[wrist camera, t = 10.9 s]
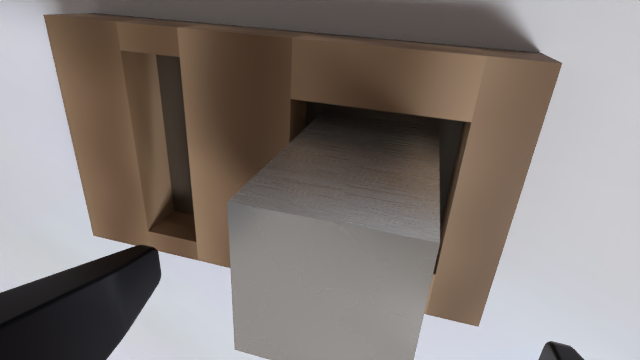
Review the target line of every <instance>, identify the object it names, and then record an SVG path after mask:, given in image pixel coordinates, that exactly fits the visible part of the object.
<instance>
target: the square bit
mask: <svg viewBox="0 0 640 360" xmlns="http://www.w3.org/2000/svg"><path fill="white" fill-rule="evenodd" d="M227 208H228V227H229V247H230V266H231V285H232V305H233V324H234V344H235V350H238V351H242V352H245V353H249V354H252V355H256V356H259V357H263V358H266V359H270V360H414V355H415V351H416V347H417V342H418V338H419V333H420V329H421V325H422V320H423V316H424V311H425V307H426V303H427V298H428V294H429V289H430V285H431V281H432V276H433V272H434V267H435V263H436V259H437V254H438V250H439V245H440V174H439V127H438V126H430V125H422V124H415V123H407V122H399V121H392V120H384V119H376V118H369V117H361V116H353V115H346V114H338V113H330V112H322V113H321V114H320V115H319V116H318V117H316V118H315V119H314V120H313V121H312V122H311V123H310V124H309V125H308V126H307V127H306V128H305V129H304V130H303V131H302V132H301V133H299V134H298V135H297V136H296V137H295V138H294V139H293V140H292V141H291V142H290V143H289V144H288V145H287V146H286V147H285V148H284V149H283V150H281V151H280V152H279V153H278V154H277V155H276V156H275V157H274V158H273V159H272V160H271V161H270V162H269V163H268V164H267V165H266V166H265V167H263V168H262V169H261V170H260V171H259V172H258V173H257V174H256V175H255V176H254V177H253V178H252V179H251V180H250V181H249V182H248V183H246V184H245V185H244V186H243V187H242V188H241V189H240V190H239V191H238V192H237V193H236V194H235V195H234V196H233V197H232V198H231V199H230V200H228V201H227Z"/></svg>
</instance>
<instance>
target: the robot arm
mask: <svg viewBox="0 0 640 360" xmlns="http://www.w3.org/2000/svg"><path fill="white" fill-rule="evenodd" d="M160 278H161V268H160V261H159V255H158V251H157V249H156V248H154V247H151V246H147V245H137V246H134V247H131V248H128V249H126V250H123V251H120V252H117V253H114V254H111V255H108V256H105V257H102V258H100V259H97V260H94V261H91V262H88V263H85V264H82V265H79V266H76V267H74V268H71V269H68V270H65V271H62V272H59V273H56V274H53V275H50V276H48V277H45V278H42V279H39V280H36V281H33V282H30V283H27V284H24V285H22V286H19V287H16V288H13V289H10V290H7V291H4V292H1V293H0V360H106V359H107V358H108V357H109V356H110V354H111V353H112V352H113V350H114V349H115V348H116V347H117V345H118V344H119V343H120V341H121V340H122V339H123V337H124V336H125V335H126V333H127V332H128V330H129V329H130V327H131V326H132V324H133V323H134V321H135V320H136V318H137V316H138V315H139V313H140V312H141V310H142V309H143V307H144V305H145V304H146V302H147V301H148V299H149V298H150V296H151V295H152V293H153V291H154V290H155V288H156V287H157V285H158V284H159V281H160ZM539 360H584V359H583V358H582V357H581V356H580V355H579V354H578V353H577V352H576V350H575V349H573V348H572V347H571V346H568V345H565V344H561V343H557V342H552V341H550V342H547V343H546V344H545V346H544V348H543V350H542V353H541V355H540V357H539Z"/></svg>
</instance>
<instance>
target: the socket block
mask: <svg viewBox="0 0 640 360" xmlns="http://www.w3.org/2000/svg"><path fill="white" fill-rule="evenodd" d="M44 19H45V23H46V28H47V32H48V36H49V41H50V45H51V50H52V54H53V59H54V63H55V67H56V72H57V76H58V81H59V85H60V90H61V94H62V98H63V103H64V107H65V112H66V116H67V120H68V125H69V129H70V134H71V138H72V143H73V147H74V151H75V156H76V160H77V165H78V169H79V174H80V178H81V182H82V187H83V191H84V196H85V200H86V205H87V209H88V213H89V218H90V222H91V227H92V231H93V236H98V237H102V238H106V239H110V240H114V241H119V242H123V243H127V244H131V245H136V246H137V245H147V246H151V247H154V248H156V249H157V251H161V252H165V253H169V254H174V255H178V256H182V257H186V258H191V259H195V260H199V261H203V262H207V263H212V264H216V265H220V266H224V267H229V268H231V266H230V247H229V227H228V208H227V201H228V200H230V199H231V198H232V197H233V196H234V195H235V194H236V193H237V192H238V191H239V190H240V189H241V188H242V187H243V186H244V185H245V184H246V183H248V182H249V181H250V180H251V179H252V178H253V177H254V176H255V175H256V174H257V173H258V172H259V171H260V170H261V169H262V168H263V167H265V166H266V165H267V164H268V163H269V162H270V161H271V160H272V159H273V158H274V157H275V156H276V155H277V154H278V153H279V152H280V151H281V150H283V149H284V148H285V147H286V146H287V145H288V144H289V143H290V142H291V141H292V140H293V139H294V138H295V137H296V136H297V135H298V134H299V133H301V132H302V131H303V130H304V129H305V128H306V127H307V126H308V125H309V124H310V123H311V122H312V121H313V120H314V119H315V118H316V117H318V116H319V115H320V114H321V113H322V112H330V113H338V114H346V115H353V116H361V117H369V118H376V119H384V120H392V121H399V122H407V123H415V124H422V125H430V126H438V127H439V174H440V245H439V250H438V254H437V259H436V263H435V267H434V272H433V276H432V281H431V285H430V289H429V294H428V298H427V303H426V307H425V311H424V314H427V315H431V316H436V317H440V318H444V319H448V320H452V321H457V322H461V323H465V324H469V325H474V326H479V323H480V320H481V317H482V314H483V311H484V307H485V304H486V301H487V298H488V295H489V292H490V288H491V285H492V282H493V279H494V276H495V273H496V270H497V266H498V263H499V260H500V257H501V254H502V251H503V248H504V244H505V241H506V238H507V235H508V232H509V229H510V226H511V222H512V219H513V216H514V213H515V210H516V207H517V204H518V200H519V197H520V194H521V191H522V188H523V185H524V181H525V178H526V175H527V172H528V169H529V166H530V163H531V159H532V156H533V153H534V150H535V147H536V144H537V141H538V137H539V134H540V131H541V128H542V125H543V122H544V119H545V115H546V112H547V109H548V106H549V103H550V100H551V97H552V93H553V90H554V87H555V84H556V81H557V78H558V74H559V71H560V68H561V65H562V63H561V62H559V61H557V60H554V59H552V58H550V57H548V56H546V55H544V54H542V53H535V52H523V51H512V50H501V49H490V48H478V47H467V46H456V45H445V44H434V43H422V42H411V41H400V40H389V39H377V38H366V37H355V36H344V35H332V34H321V33H310V32H299V31H287V30H276V29H265V28H254V27H243V26H231V25H220V24H209V23H198V22H186V21H175V20H164V19H153V18H141V17H130V16H119V15H108V14H96V13H89V14H56V15H44Z"/></svg>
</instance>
